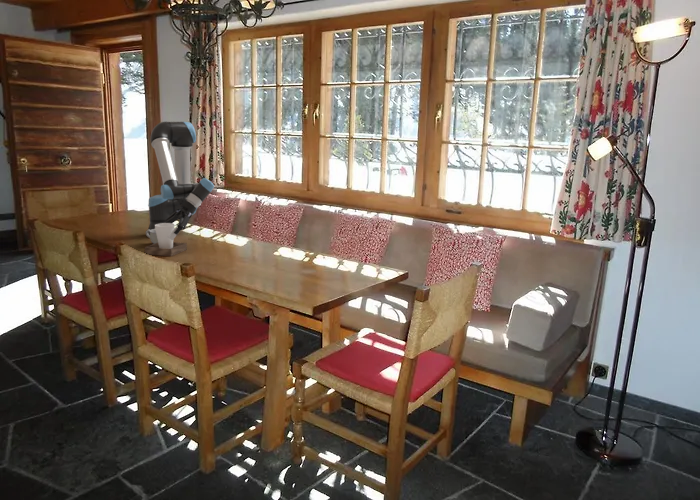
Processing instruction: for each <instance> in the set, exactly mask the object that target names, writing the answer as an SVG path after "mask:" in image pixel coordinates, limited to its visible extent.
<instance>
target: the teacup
mask: <svg viewBox="0 0 700 500" xmlns="http://www.w3.org/2000/svg"><path fill="white" fill-rule="evenodd" d="M148 231H149V232H150V235H149V234H148ZM145 235H146V237H147V238H149V239H150V242H151V243H152V244H155V243H158V239H157V234H156V230H155V229H152V230H148V229H147V230H146V231H145Z"/></svg>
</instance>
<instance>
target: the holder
mask: <svg viewBox="0 0 700 500" xmlns="http://www.w3.org/2000/svg"><path fill="white" fill-rule="evenodd" d="M187 247H188V246H187V242H178V241H173V248H171V249H166V248H159V244H158V243H155V244H153V243H152V244H150V245H147V246H145V247H144V254H145V253H147V254H146V255H153V256H166V257H167V256H168V257H173V256H175V255H178V254H180V253H182V252H184V251H187Z"/></svg>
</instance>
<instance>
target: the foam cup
mask: <svg viewBox="0 0 700 500" xmlns="http://www.w3.org/2000/svg"><path fill="white" fill-rule="evenodd" d="M175 228H176V227H175V223H174V222H173V223H160V224H156V225H155V230H156V234H157V239H158V244H159V248H166V249H171V248H173V242H174V240H175V238H174V239H173V240H171V239H170V238H168V236H169V235H170V234H171V232H172V231H173V230H174V229H175Z"/></svg>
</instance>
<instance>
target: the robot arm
mask: <svg viewBox="0 0 700 500" xmlns="http://www.w3.org/2000/svg"><path fill="white" fill-rule="evenodd" d="M196 133H197V132H196V129H195V127H194V124H193V123H191V122H189V121H188V122H187V121H161V122H158V123H157V124H156V125H155V126H154V127H153V128H152V130H151V134H150V145H151V147H152V148H153V149H154V152H155V156H156V160H157V164H158V168H159V172H160V175H161V180H162V183H163V184H161V186H160V194H156V195H153V196H150V197H149V198H148V204H147V206H148V213H149V215H148V216H149V224H148V229H147V230H152V229H155V225H156V224H160V223H173V224H174V223H175V222H176V221H178V220H179V221H178V223H177V225H176V226H175V227H174V228H175V229H174V230H173V231H172V232H171V234H170V235H169V236H168V238H170V239H171V240H173V239H174V240H175V238H176V237H177V236H178V235H179V233H180V232H181V231H184V230H186V228H187V225H188V223H189V221H190V220H191V218H192V216H193V215H195V214H196V212H197V209H198V208H199V207H200V206H201V205H202V203H203V202H204V201H206V198H207V197H208V196H209V194H211V193H212V191H213V189H215V185H214V183H213V182H212V181H211V180H209V179H208V178H206V177H203V178H201V180H199V182H198V183H192V182H191V180H192V178H191V149H192V148H193V145H194V144H195V143H196V142H197V134H196ZM170 144H171V147H172V148H173V149H174V151H173V153H174V154H173V155H174V161H173V158H172V154H171V150H170ZM148 234H149V235H150V232H149V231H148ZM174 240H173V241H174Z"/></svg>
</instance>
